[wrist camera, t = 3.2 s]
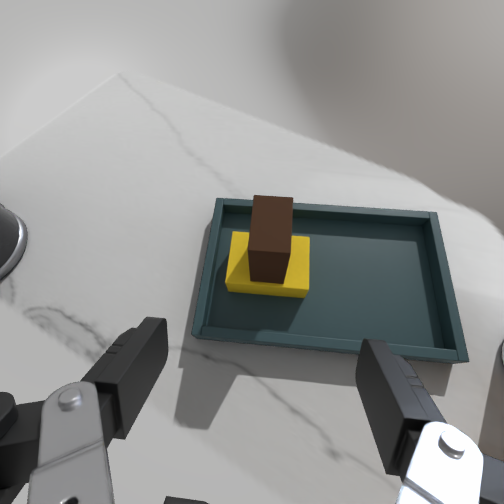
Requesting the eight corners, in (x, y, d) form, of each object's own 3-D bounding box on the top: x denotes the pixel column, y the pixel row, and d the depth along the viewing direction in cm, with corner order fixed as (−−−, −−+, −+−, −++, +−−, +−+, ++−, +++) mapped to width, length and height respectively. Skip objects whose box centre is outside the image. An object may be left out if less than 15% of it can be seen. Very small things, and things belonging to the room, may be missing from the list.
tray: (196, 338, 25) (190, 334, 23) (219, 208, 30) (216, 197, 29) (453, 363, 23) (469, 362, 21) (426, 222, 29) (437, 211, 27)
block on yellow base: (228, 291, 26) (214, 251, 18) (234, 243, 28) (225, 189, 20) (304, 298, 25) (324, 260, 18) (305, 248, 27) (323, 195, 20)
